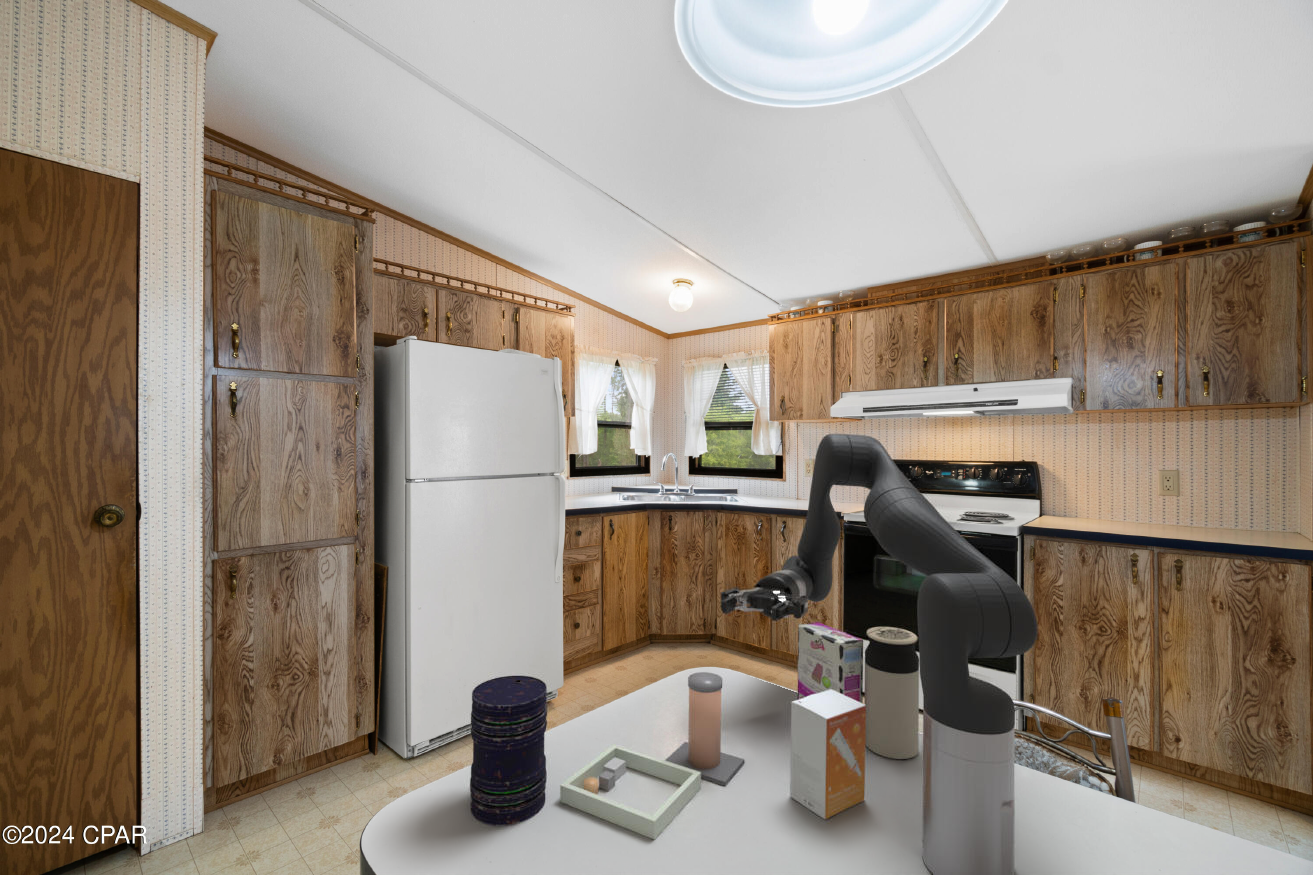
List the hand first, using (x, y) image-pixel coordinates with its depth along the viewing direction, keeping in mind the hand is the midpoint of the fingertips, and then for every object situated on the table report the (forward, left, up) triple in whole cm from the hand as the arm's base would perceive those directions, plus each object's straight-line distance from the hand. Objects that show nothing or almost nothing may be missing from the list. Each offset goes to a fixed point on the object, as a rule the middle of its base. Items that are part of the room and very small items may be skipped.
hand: (748, 610), depth 97 cm
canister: (+3, +10, -20) cm, 23 cm away
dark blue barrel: (+21, +33, -21) cm, 44 cm away
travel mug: (-20, -9, -21) cm, 31 cm away
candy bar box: (-10, -10, -21) cm, 26 cm away
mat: (+3, +11, -21) cm, 23 cm away
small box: (-15, +10, -21) cm, 28 cm away
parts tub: (+8, +23, -21) cm, 32 cm away
